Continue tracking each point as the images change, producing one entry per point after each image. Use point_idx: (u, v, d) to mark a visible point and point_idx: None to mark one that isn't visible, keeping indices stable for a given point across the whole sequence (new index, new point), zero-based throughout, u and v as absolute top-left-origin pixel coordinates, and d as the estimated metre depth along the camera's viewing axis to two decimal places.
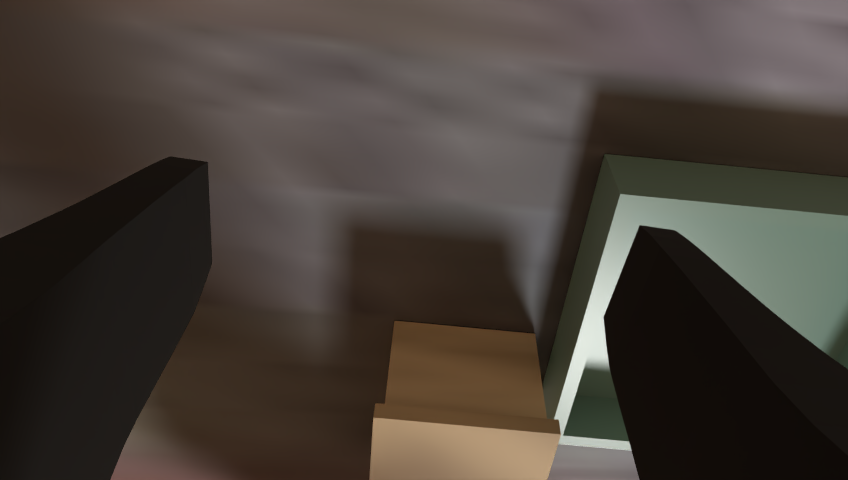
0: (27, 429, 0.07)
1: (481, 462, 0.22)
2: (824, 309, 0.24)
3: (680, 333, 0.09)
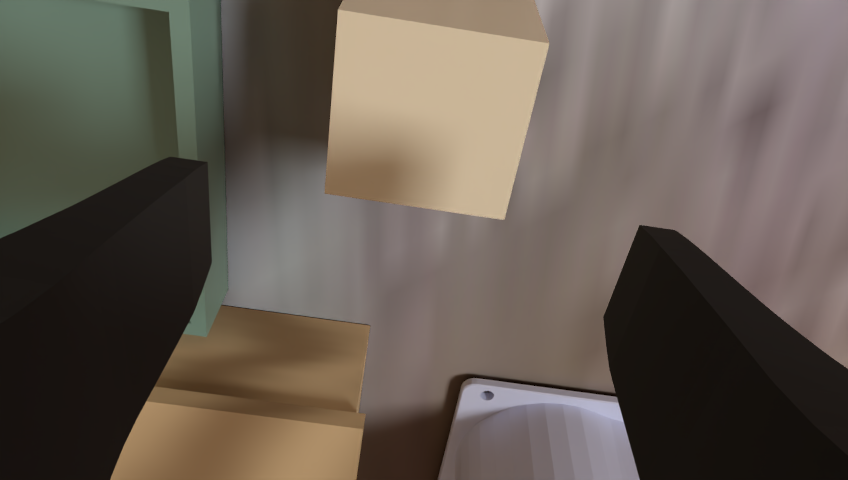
0: (27, 429, 0.07)
1: (130, 447, 0.21)
2: None
3: (680, 333, 0.09)
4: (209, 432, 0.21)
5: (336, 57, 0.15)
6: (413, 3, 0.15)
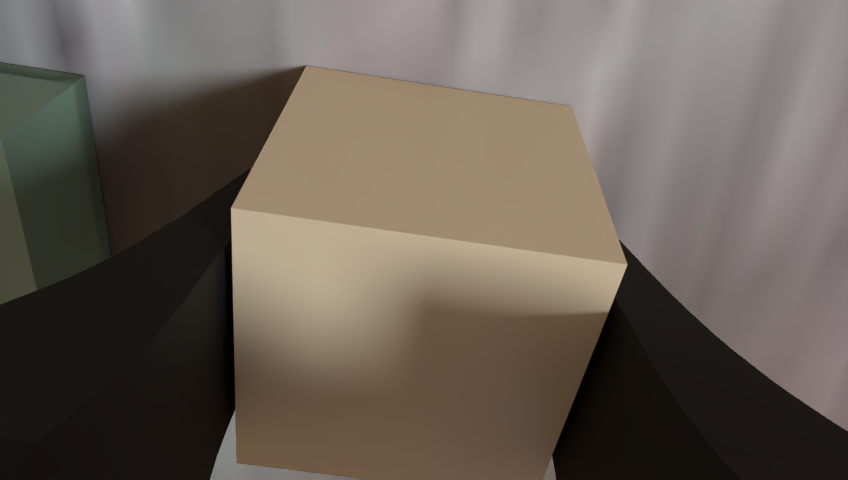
0: (158, 446, 0.07)
1: None
2: None
3: None
4: None
5: (236, 280, 0.08)
6: (378, 168, 0.09)
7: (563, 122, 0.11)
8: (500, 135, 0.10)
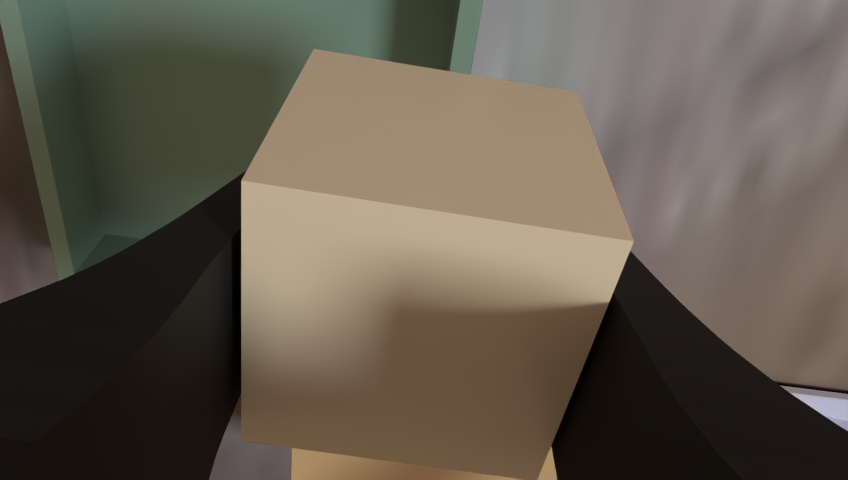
0: (157, 446, 0.07)
1: None
2: None
3: None
4: None
5: (245, 254, 0.08)
6: (386, 147, 0.09)
7: (569, 107, 0.11)
8: (506, 117, 0.10)
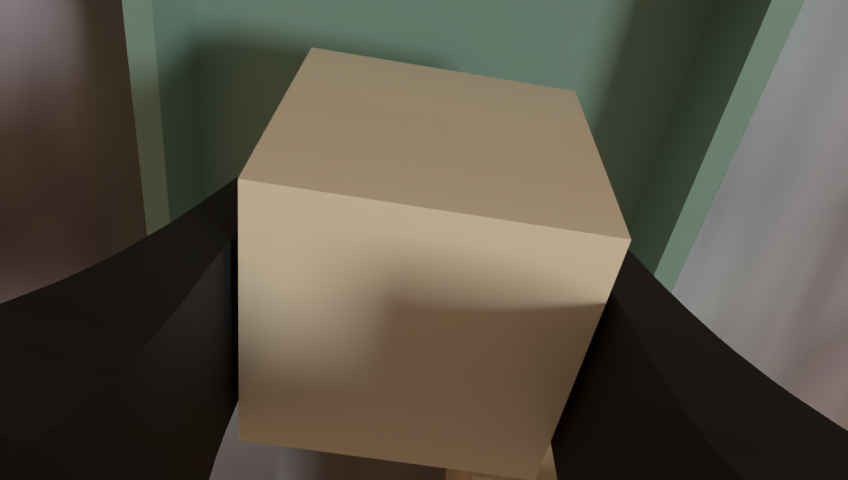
0: (158, 446, 0.07)
1: None
2: None
3: None
4: None
5: (241, 253, 0.08)
6: (384, 145, 0.09)
7: (567, 105, 0.11)
8: (504, 116, 0.10)
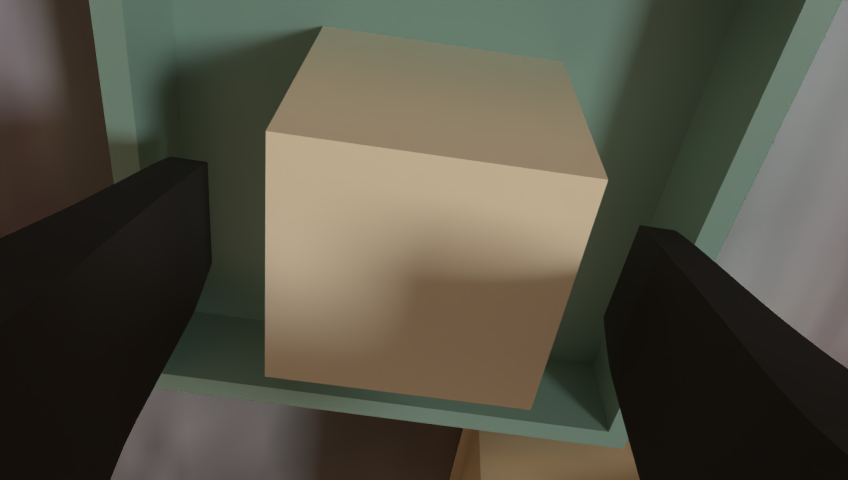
0: (27, 429, 0.07)
1: None
2: None
3: (680, 333, 0.09)
4: None
5: (268, 199, 0.09)
6: (391, 105, 0.10)
7: (555, 73, 0.12)
8: (498, 82, 0.11)
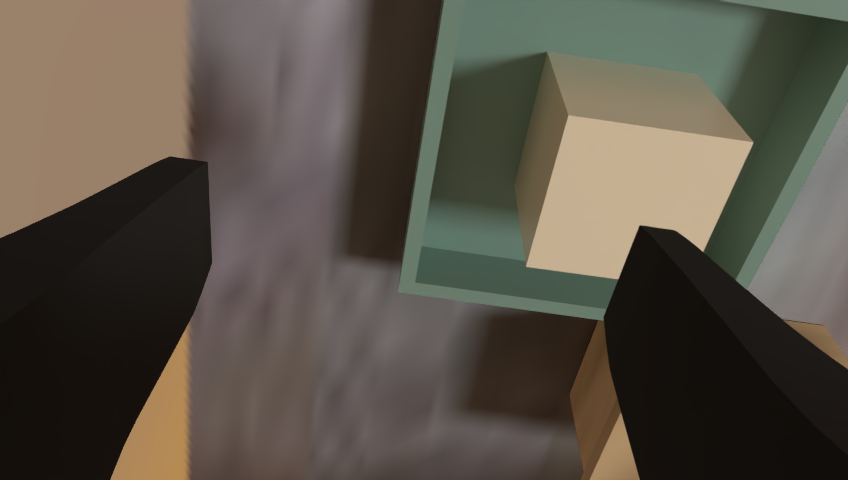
0: (27, 429, 0.07)
1: None
2: (619, 23, 0.19)
3: (680, 333, 0.09)
4: None
5: (559, 153, 0.16)
6: (619, 101, 0.17)
7: (697, 82, 0.19)
8: (667, 88, 0.18)
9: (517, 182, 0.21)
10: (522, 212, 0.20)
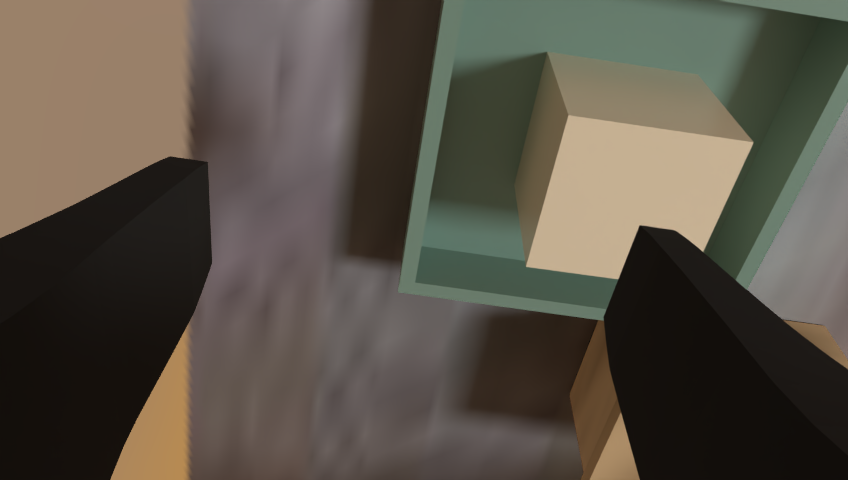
0: (27, 429, 0.07)
1: None
2: (619, 23, 0.19)
3: (680, 333, 0.09)
4: None
5: (559, 153, 0.16)
6: (619, 101, 0.17)
7: (697, 82, 0.19)
8: (667, 88, 0.18)
9: (517, 182, 0.21)
10: (522, 212, 0.20)
